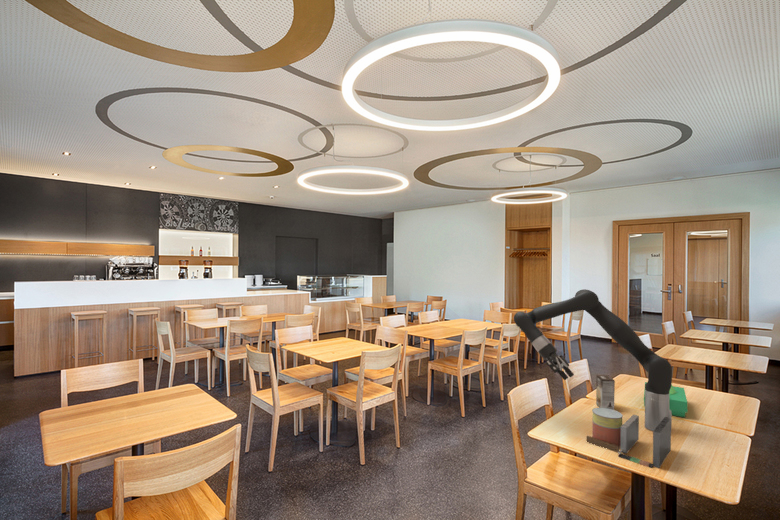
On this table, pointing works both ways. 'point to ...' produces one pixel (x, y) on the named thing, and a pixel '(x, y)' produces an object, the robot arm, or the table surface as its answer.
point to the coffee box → (605, 391)
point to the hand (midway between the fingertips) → (569, 377)
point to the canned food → (607, 425)
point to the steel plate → (629, 434)
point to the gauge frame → (659, 445)
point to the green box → (676, 401)
